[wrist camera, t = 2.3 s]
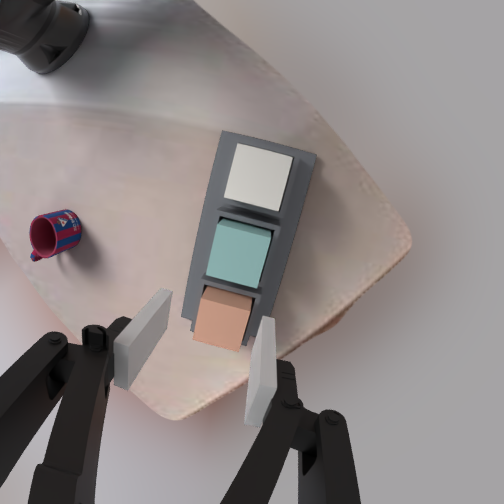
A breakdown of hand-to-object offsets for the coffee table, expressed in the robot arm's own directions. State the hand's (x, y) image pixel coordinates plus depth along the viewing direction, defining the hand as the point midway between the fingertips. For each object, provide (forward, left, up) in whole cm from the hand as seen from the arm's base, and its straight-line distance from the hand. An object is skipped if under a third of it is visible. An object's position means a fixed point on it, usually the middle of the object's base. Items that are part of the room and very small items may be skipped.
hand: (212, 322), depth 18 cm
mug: (+7, -31, -25) cm, 41 cm away
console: (0, 0, -25) cm, 25 cm away
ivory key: (-9, 0, -21) cm, 23 cm away
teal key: (0, 0, -21) cm, 21 cm away
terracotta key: (+9, 0, -21) cm, 23 cm away
